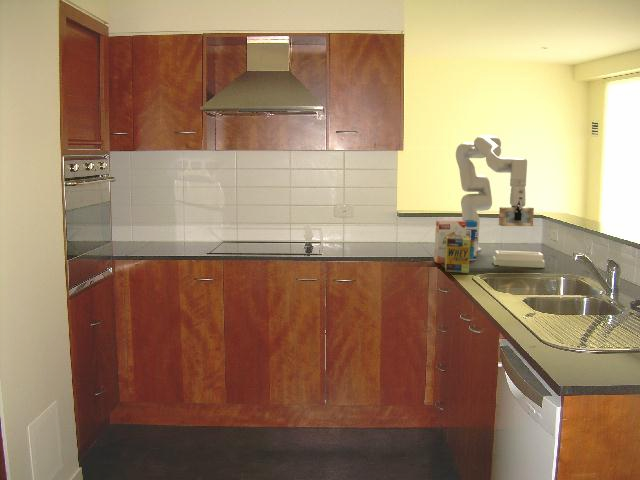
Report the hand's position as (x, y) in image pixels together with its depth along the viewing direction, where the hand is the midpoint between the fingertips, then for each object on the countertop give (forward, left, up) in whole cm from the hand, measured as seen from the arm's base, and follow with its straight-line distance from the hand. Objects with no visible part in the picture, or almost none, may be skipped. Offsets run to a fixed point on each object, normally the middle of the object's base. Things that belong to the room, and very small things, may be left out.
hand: (515, 219), depth 304 cm
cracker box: (-32, -11, -22) cm, 40 cm away
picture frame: (0, 0, -3) cm, 3 cm away
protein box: (-29, -29, -22) cm, 47 cm away
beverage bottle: (-22, +1, -22) cm, 31 cm away
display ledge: (+1, -9, -21) cm, 23 cm away
